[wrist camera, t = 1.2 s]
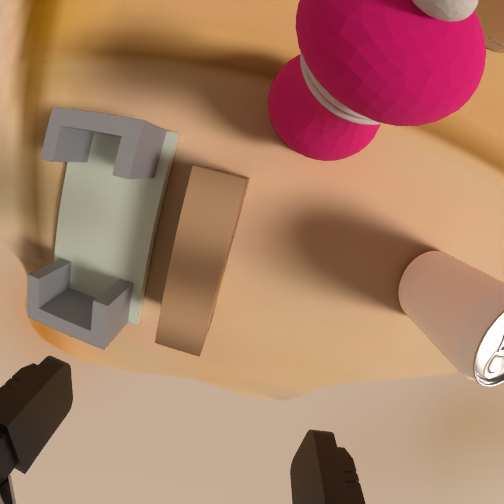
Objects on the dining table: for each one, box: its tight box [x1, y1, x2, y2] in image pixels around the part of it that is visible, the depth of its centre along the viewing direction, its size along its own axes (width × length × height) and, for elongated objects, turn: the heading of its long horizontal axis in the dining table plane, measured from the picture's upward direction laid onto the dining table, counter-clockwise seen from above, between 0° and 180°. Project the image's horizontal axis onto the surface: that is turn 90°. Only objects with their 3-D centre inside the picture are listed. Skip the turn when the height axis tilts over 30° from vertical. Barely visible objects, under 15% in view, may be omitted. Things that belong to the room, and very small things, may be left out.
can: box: [398, 251, 504, 387], centre depth 20 cm, size 6×6×12 cm
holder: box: [27, 107, 180, 350], centre depth 22 cm, size 16×9×6 cm, turn 164°
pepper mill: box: [268, 0, 486, 161], centre depth 13 cm, size 7×7×20 cm
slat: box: [155, 166, 250, 356], centre depth 23 cm, size 12×3×6 cm, turn 165°
